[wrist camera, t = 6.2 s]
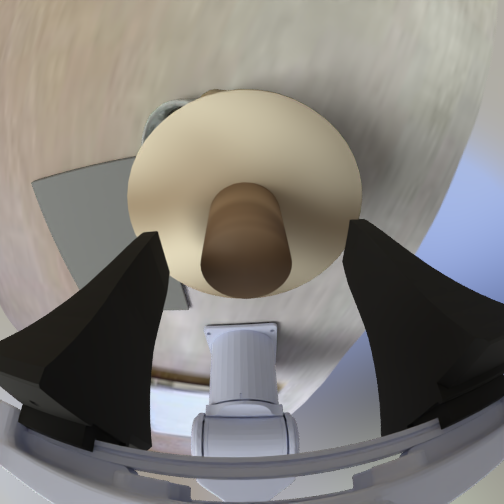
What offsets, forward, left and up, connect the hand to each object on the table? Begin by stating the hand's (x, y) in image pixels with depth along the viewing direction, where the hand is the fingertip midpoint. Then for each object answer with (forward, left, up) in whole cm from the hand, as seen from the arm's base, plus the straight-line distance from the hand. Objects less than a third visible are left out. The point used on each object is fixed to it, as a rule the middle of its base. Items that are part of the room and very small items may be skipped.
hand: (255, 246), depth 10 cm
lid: (0, 0, -3) cm, 3 cm away
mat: (-7, +13, -10) cm, 18 cm away
